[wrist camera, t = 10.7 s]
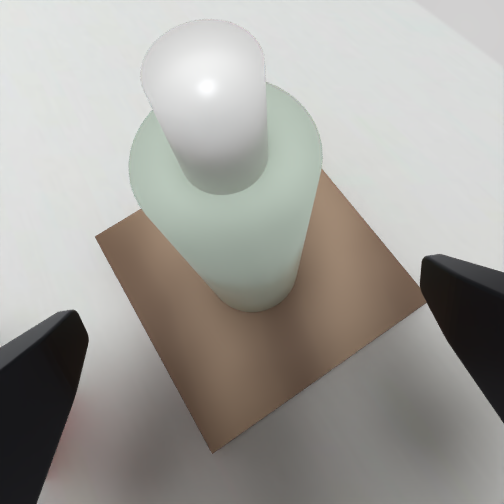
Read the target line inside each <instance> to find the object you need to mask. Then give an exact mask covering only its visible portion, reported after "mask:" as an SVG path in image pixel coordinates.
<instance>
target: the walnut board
mask: <svg viewBox="0 0 504 504" xmlns="http://www.w3.org/2000/svg"><path fill="white" fill-rule="evenodd" d="M95 238H96V240H97V242H98V243H99V245H100V247H101V249H102V251H103V253H104V255H105V256H106V258H107V260H108V262H109V264H110V266H111V268H112V269H113V271H114V273H115V275H116V277H117V279H118V280H119V282H120V284H121V286H122V288H123V290H124V292H125V293H126V295H127V297H128V299H129V301H130V303H131V305H132V306H133V308H134V310H135V312H136V314H137V316H138V317H139V319H140V321H141V323H142V325H143V327H144V329H145V330H146V332H147V334H148V336H149V338H150V340H151V342H152V343H153V345H154V347H155V349H156V351H157V353H158V354H159V356H160V358H161V360H162V362H163V364H164V366H165V367H166V369H167V371H168V373H169V375H170V377H171V379H172V380H173V382H174V384H175V386H176V388H177V390H178V391H179V393H180V395H181V397H182V399H183V401H184V403H185V404H186V406H187V408H188V410H189V412H190V414H191V416H192V417H193V419H194V421H195V423H196V425H197V427H198V428H199V430H200V432H201V434H202V436H203V438H204V440H205V441H206V443H207V445H208V447H209V449H210V451H211V453H212V454H213V453H214V452H216V451H217V450H219V449H220V448H222V447H223V446H224V445H226V444H227V443H229V442H230V441H231V440H233V439H234V438H236V437H237V436H239V435H240V434H241V433H243V432H244V431H246V430H247V429H248V428H250V427H251V426H253V425H254V424H256V423H257V422H258V421H260V420H261V419H263V418H264V417H265V416H267V415H268V414H270V413H271V412H272V411H274V410H275V409H277V408H278V407H280V406H281V405H282V404H284V403H285V402H287V401H288V400H289V399H291V398H292V397H294V396H295V395H297V394H298V393H299V392H301V391H302V390H304V389H305V388H306V387H308V386H309V385H311V384H312V383H314V382H315V381H316V380H318V379H319V378H321V377H322V376H323V375H325V374H326V373H328V372H329V371H331V370H332V369H333V368H335V367H336V366H338V365H339V364H340V363H342V362H343V361H345V360H346V359H347V358H349V357H350V356H352V355H353V354H355V353H356V352H357V351H359V350H360V349H362V348H363V347H364V346H366V345H367V344H369V343H370V342H372V341H373V340H374V339H376V338H377V337H379V336H380V335H381V334H383V333H384V332H386V331H387V330H389V329H390V328H391V327H393V326H394V325H396V324H397V323H398V322H400V321H401V320H403V319H404V318H406V317H407V316H408V315H410V314H411V313H413V312H414V311H415V310H417V309H418V308H420V307H421V306H423V305H424V304H425V303H427V302H426V300H425V298H424V296H423V295H422V292H421V289H420V287H419V286H418V285H417V283H416V282H415V281H414V280H413V279H412V277H411V276H410V275H409V274H408V272H407V271H406V270H405V269H404V268H403V266H402V265H401V264H400V263H399V262H398V260H397V259H396V258H395V257H394V256H393V254H392V253H391V252H390V251H389V249H388V248H387V247H386V246H385V245H384V243H383V242H382V241H381V240H380V239H379V237H378V236H377V235H376V234H375V233H374V231H373V230H372V229H371V228H370V226H369V225H368V224H367V223H366V222H365V220H364V219H363V218H362V217H361V216H360V214H359V213H358V212H357V211H356V210H355V208H354V207H353V206H352V205H351V203H350V202H349V201H348V200H347V199H346V197H345V196H344V195H343V194H342V193H341V191H340V190H339V189H338V188H337V187H336V185H335V184H334V183H333V182H332V180H331V179H330V178H329V177H328V176H327V174H326V173H325V172H324V171H323V170H322V169H321V174H320V178H319V182H318V187H317V191H316V195H315V199H314V204H313V208H312V212H311V216H310V221H309V225H308V229H307V233H306V238H305V242H304V246H303V250H302V255H301V259H300V263H299V267H298V272H297V276H296V280H295V283H294V285H293V288H292V289H291V291H290V293H289V294H288V295H287V297H286V298H285V299H284V300H283V301H282V302H280V303H279V304H278V305H276V306H274V307H272V308H270V309H268V310H264V311H260V312H244V311H240V310H236V309H234V308H232V307H230V306H228V305H227V304H225V303H224V302H223V301H222V300H221V299H220V298H219V297H218V296H217V295H216V294H215V293H214V291H213V290H212V289H211V288H210V287H209V286H208V285H207V284H206V282H205V281H204V280H203V279H202V278H201V277H200V276H199V275H198V273H197V272H196V271H195V270H194V269H193V268H192V267H191V265H190V264H189V263H188V262H187V261H186V260H185V259H184V258H183V256H182V255H181V254H180V253H179V252H178V251H177V250H176V249H175V247H174V246H173V245H172V244H171V243H170V242H169V241H168V239H167V238H166V237H165V236H164V235H163V234H162V233H161V232H160V230H159V229H158V228H157V227H156V226H155V225H154V224H153V222H152V221H151V220H150V219H149V218H148V217H147V216H146V214H145V213H144V212H143V210H142V209H140V210H138V211H137V212H135V213H133V214H132V215H130V216H128V217H127V218H125V219H123V220H122V221H120V222H118V223H117V224H115V225H113V226H112V227H110V228H108V229H107V230H105V231H103V232H102V233H100V234H98V235H97V236H95Z"/></svg>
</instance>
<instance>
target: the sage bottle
mask: <svg viewBox="0 0 504 504" xmlns="http://www.w3.org/2000/svg"><path fill="white" fill-rule="evenodd" d="M140 79H141V85H142V88H143V91H144V93H145V95H146V97H147V99H148V101H149V103H150V105H151V107H152V109H153V110H152V111H151V112H150V113H149V115H148V116H147V117H146V118H145V120H144V121H143V123H142V124H141V126H140V128H139V129H138V131H137V133H136V136H135V138H134V140H133V144H132V147H131V151H130V157H129V177H130V184H131V187H132V190H133V193H134V196H135V198H136V200H137V202H138V204H139V206H140V207H141V209H142V210H143V212H144V213H145V214H146V216H147V217H148V218H149V219H150V220H151V221H152V222H153V224H154V225H155V226H156V227H157V228H158V229H159V230H160V232H161V233H162V234H163V235H164V236H165V237H166V238H167V239H168V241H169V242H170V243H171V244H172V245H173V246H174V247H175V249H176V250H177V251H178V252H179V253H180V254H181V255H182V256H183V258H184V259H185V260H186V261H187V262H188V263H189V264H190V265H191V267H192V268H193V269H194V270H195V271H196V272H197V273H198V275H199V276H200V277H201V278H202V279H203V280H204V281H205V282H206V284H207V285H208V286H209V287H210V288H211V289H212V290H213V291H214V293H215V294H216V295H217V296H218V297H219V298H220V299H221V300H222V301H223V302H224V303H225V304H227V305H228V306H230V307H232V308H234V309H236V310H240V311H244V312H260V311H264V310H268V309H270V308H272V307H274V306H276V305H278V304H279V303H280V302H282V301H283V300H284V299H285V298H286V297H287V295H288V294H289V293H290V291H291V289H292V288H293V285H294V283H295V280H296V276H297V272H298V267H299V263H300V259H301V255H302V250H303V246H304V242H305V238H306V233H307V229H308V225H309V221H310V216H311V212H312V208H313V204H314V199H315V195H316V191H317V187H318V182H319V178H320V174H321V169H322V159H323V156H322V144H321V140H320V135H319V133H318V130H317V127H316V125H315V123H314V121H313V119H312V117H311V116H310V114H309V113H308V112H307V110H306V109H305V108H304V107H303V106H302V105H301V104H300V103H299V102H298V101H297V100H296V99H295V98H294V97H293V96H291V95H290V94H289V93H287V92H286V91H284V90H282V89H281V88H279V87H277V86H275V85H272V84H270V83H268V82H266V75H265V58H264V53H263V50H262V48H261V46H260V44H259V42H258V41H257V40H256V38H255V37H254V36H253V35H252V34H251V33H250V32H248V31H247V30H245V29H244V28H242V27H240V26H239V25H236V24H234V23H231V22H227V21H223V20H216V19H202V20H195V21H191V22H187V23H184V24H181V25H178V26H176V27H174V28H172V29H170V30H169V31H167V32H166V33H164V34H163V35H162V36H160V37H159V38H158V39H157V40H156V41H155V42H154V43H153V44H152V46H151V47H150V48H149V50H148V51H147V53H146V55H145V57H144V59H143V62H142V65H141V72H140Z"/></svg>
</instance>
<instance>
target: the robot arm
mask: <svg viewBox="0 0 504 504" xmlns="http://www.w3.org/2000/svg"><path fill="white" fill-rule="evenodd" d="M420 289H421V292H422V295H423V296H424V298H425V300H426V302H427V304H428V306H429V308H430V310H431V312H432V313H433V315H434V317H435V319H436V321H437V323H438V325H439V327H440V329H441V330H442V332H443V334H444V336H445V338H446V339H447V341H448V343H449V344H450V346H451V347H452V349H453V350H454V352H455V353H456V355H457V356H458V358H459V359H460V360H461V362H462V363H463V365H464V366H465V368H466V369H467V371H468V372H469V374H470V375H471V376H472V378H473V379H474V381H475V382H476V384H477V385H478V387H479V388H480V390H481V391H482V392H483V394H484V395H485V397H486V398H487V400H488V401H489V403H490V404H491V405H492V407H493V408H494V410H495V411H496V413H497V414H498V416H499V417H500V419H501V420H502V421H503V423H504V272H500V271H497V270H494V269H490V268H487V267H483V266H480V265H476V264H473V263H470V262H466V261H463V260H459V259H456V258H453V257H449V256H446V255H442V254H436V255H430V256H425V257H424V258H423V260H422V264H421V276H420ZM88 342H89V339H88V334H87V331H86V329H85V327H84V325H83V323H82V320H81V318H80V316H79V314H78V313H77V311H75V310H67V311H60V312H57V313H56V314H54V315H52V316H51V317H49V318H47V319H46V320H44V321H43V322H41V323H39V324H38V325H36V326H35V327H33V328H31V329H30V330H28V331H26V332H25V333H23V334H22V335H20V336H18V337H17V338H15V339H14V340H12V341H10V342H9V343H7V344H5V345H4V346H2V347H1V348H0V504H37V501H38V498H39V495H40V493H41V490H42V487H43V484H44V482H45V479H46V476H47V473H48V471H49V468H50V465H51V462H52V460H53V457H54V454H55V451H56V449H57V446H58V443H59V440H60V437H61V435H62V432H63V429H64V426H65V424H66V421H67V418H68V415H69V413H70V410H71V407H72V404H73V401H74V398H75V395H76V392H77V388H78V384H79V380H80V376H81V372H82V368H83V363H84V359H85V355H86V351H87V347H88Z"/></svg>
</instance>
